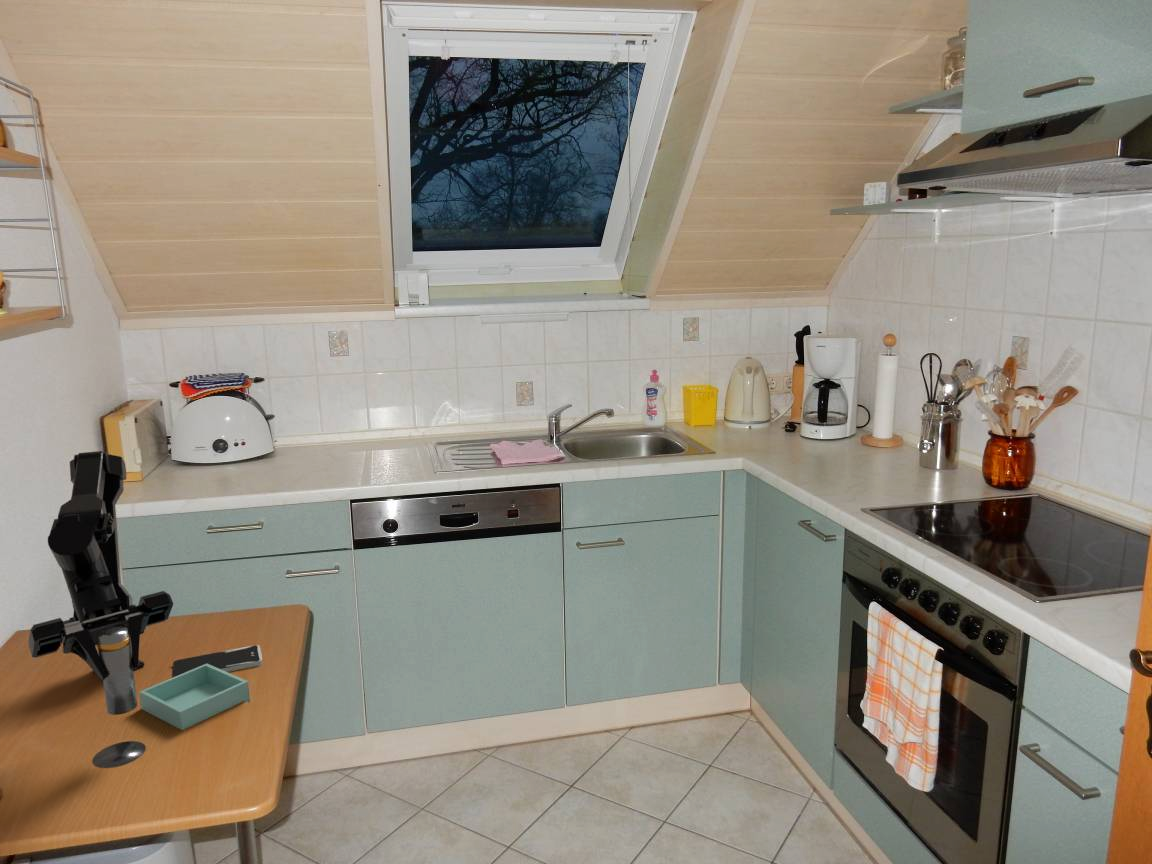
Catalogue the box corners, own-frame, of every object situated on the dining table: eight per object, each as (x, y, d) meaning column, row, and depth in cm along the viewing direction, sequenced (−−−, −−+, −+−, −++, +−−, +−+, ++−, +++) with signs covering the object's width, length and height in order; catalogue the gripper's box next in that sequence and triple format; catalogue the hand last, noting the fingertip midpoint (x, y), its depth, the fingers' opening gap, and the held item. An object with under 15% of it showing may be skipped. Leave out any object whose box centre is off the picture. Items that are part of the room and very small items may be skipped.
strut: (99, 712, 126) (88, 636, 124) (123, 698, 130) (113, 624, 128) (121, 717, 125) (111, 640, 123) (144, 703, 129) (135, 628, 126)
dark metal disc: (84, 761, 127) (83, 757, 127) (130, 739, 133) (130, 736, 133) (108, 776, 123) (107, 773, 123) (155, 753, 129) (155, 750, 129)
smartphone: (173, 660, 158) (259, 644, 164) (174, 667, 158) (260, 650, 164) (172, 678, 151) (262, 660, 157) (173, 685, 151) (263, 667, 157)
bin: (141, 712, 141) (139, 691, 140) (208, 682, 151) (206, 663, 150) (182, 733, 134) (180, 712, 133) (250, 701, 144) (248, 681, 143)
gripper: (146, 590, 143) (177, 674, 137) (15, 624, 130) (43, 718, 124) (156, 557, 135) (190, 644, 130) (19, 589, 123) (49, 687, 117)
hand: (120, 673), depth 125 cm, fingers closed on strut, 4 cm apart
